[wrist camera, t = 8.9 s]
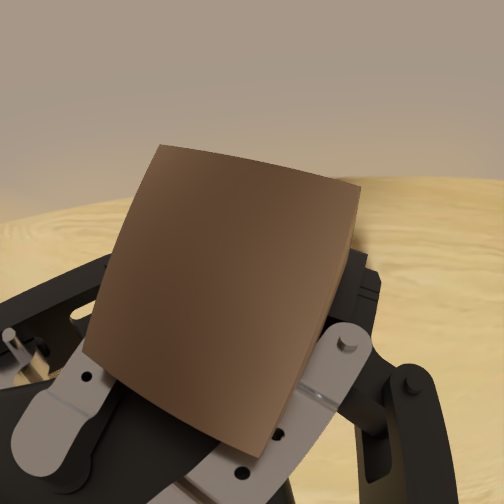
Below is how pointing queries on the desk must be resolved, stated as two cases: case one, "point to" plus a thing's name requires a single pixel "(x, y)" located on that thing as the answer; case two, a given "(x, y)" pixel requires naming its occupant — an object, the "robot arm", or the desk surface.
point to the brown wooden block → (222, 288)
